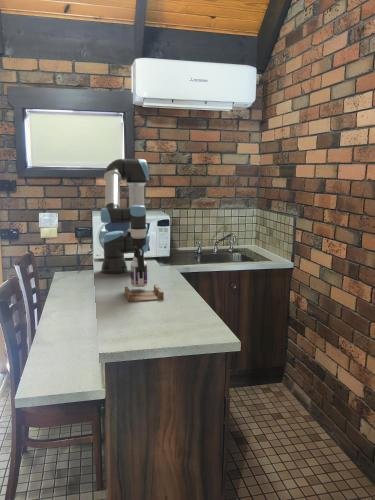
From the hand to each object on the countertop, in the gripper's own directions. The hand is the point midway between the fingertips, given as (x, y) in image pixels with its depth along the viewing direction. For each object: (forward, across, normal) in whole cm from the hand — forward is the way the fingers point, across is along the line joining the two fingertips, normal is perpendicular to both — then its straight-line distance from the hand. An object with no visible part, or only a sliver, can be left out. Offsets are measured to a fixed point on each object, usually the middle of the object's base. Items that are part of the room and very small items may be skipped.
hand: (139, 282), depth 212 cm
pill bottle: (+2, 0, 0) cm, 2 cm away
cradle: (+4, +11, 0) cm, 12 cm away
